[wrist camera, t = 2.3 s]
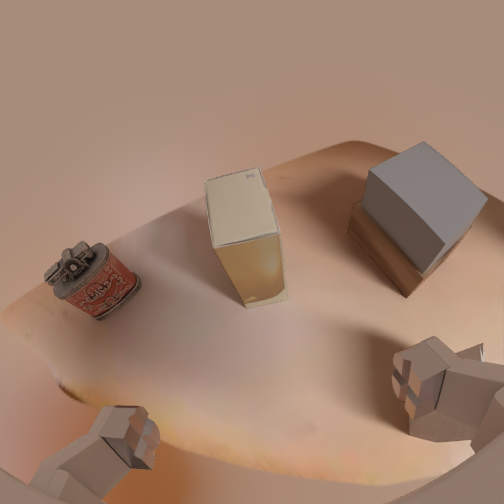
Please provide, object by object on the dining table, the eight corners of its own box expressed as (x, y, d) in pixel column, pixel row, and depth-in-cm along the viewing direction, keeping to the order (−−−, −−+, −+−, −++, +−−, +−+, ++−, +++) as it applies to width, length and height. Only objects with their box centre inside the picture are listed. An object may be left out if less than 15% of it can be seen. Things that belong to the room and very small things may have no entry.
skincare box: (236, 257, 30) (202, 177, 19) (275, 248, 30) (259, 162, 19) (246, 312, 26) (209, 248, 16) (289, 302, 26) (281, 231, 16)
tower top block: (413, 174, 26) (423, 141, 22) (468, 228, 21) (488, 198, 17) (360, 206, 25) (369, 169, 21) (422, 274, 20) (445, 244, 16)
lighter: (135, 269, 31) (88, 222, 23) (145, 289, 30) (94, 243, 21) (90, 305, 30) (36, 270, 21) (97, 326, 28) (39, 294, 19)
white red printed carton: (408, 435, 17) (463, 447, 9) (407, 369, 21) (460, 349, 12) (440, 425, 17) (501, 428, 8) (438, 362, 20) (497, 338, 11)
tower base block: (400, 196, 31) (410, 168, 27) (453, 250, 26) (471, 226, 21) (347, 233, 29) (353, 204, 25) (405, 299, 24) (423, 279, 20)
